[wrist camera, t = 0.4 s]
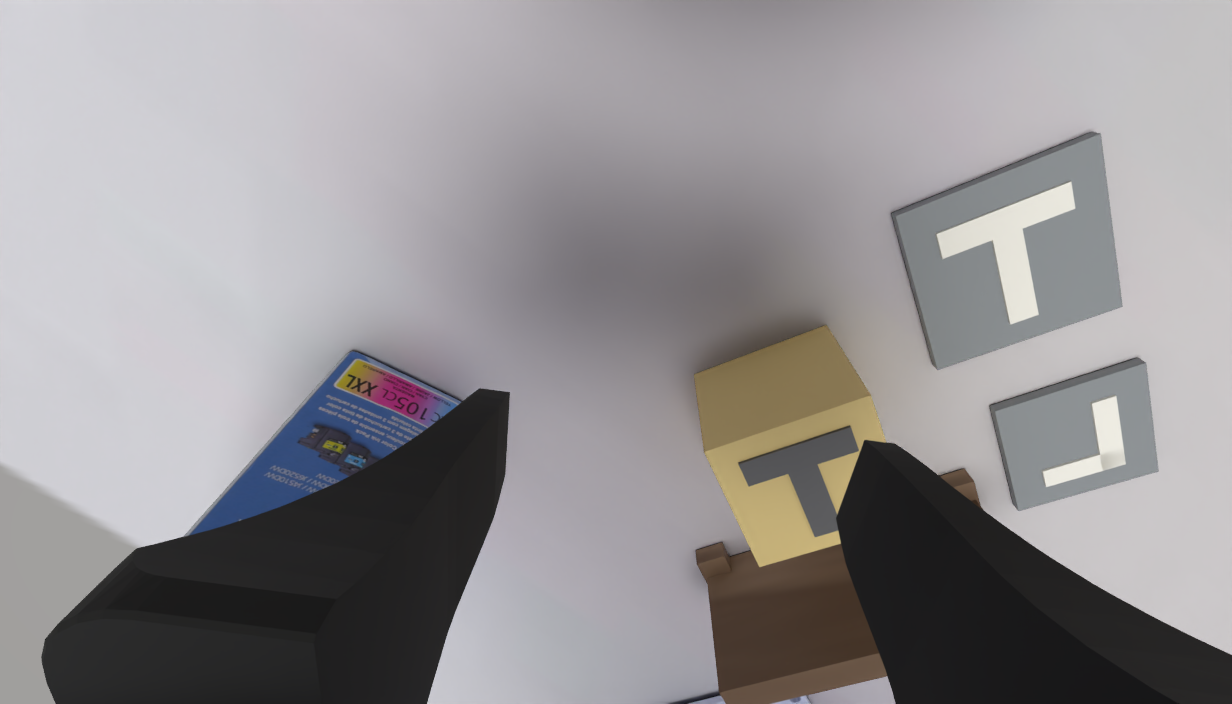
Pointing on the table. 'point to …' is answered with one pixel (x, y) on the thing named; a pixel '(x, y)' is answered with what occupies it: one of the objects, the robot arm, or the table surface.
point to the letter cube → (786, 440)
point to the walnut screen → (791, 621)
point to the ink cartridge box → (331, 438)
